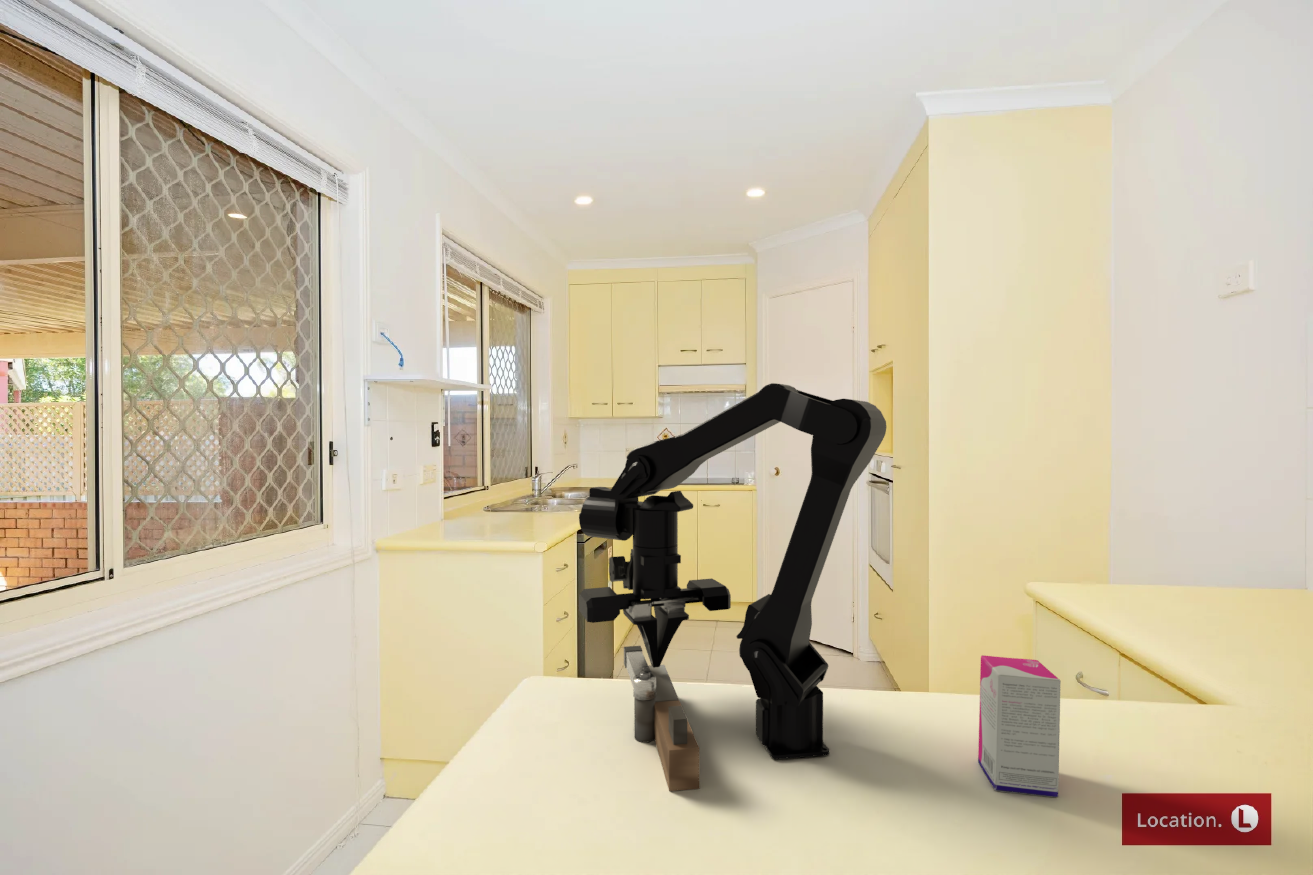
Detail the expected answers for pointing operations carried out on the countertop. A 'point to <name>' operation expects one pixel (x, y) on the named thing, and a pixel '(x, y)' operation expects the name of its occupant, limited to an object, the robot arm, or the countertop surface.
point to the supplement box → (1019, 726)
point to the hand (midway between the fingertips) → (655, 666)
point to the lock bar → (639, 673)
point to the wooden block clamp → (668, 733)
